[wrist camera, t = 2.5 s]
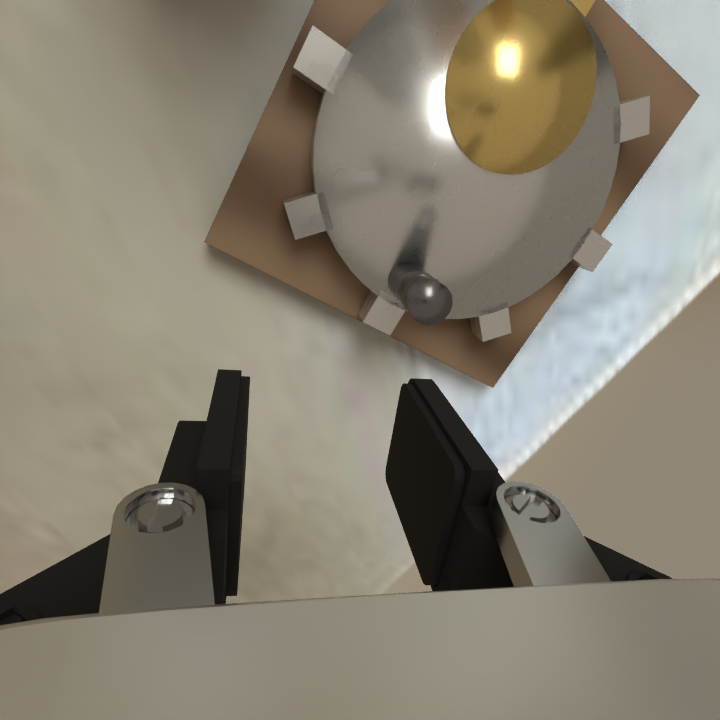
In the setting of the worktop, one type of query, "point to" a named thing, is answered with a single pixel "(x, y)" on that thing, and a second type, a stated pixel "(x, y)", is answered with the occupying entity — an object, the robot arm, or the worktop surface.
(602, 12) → the walnut plinth
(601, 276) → the worktop surface
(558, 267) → the sprocket wheel
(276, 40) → the worktop surface
